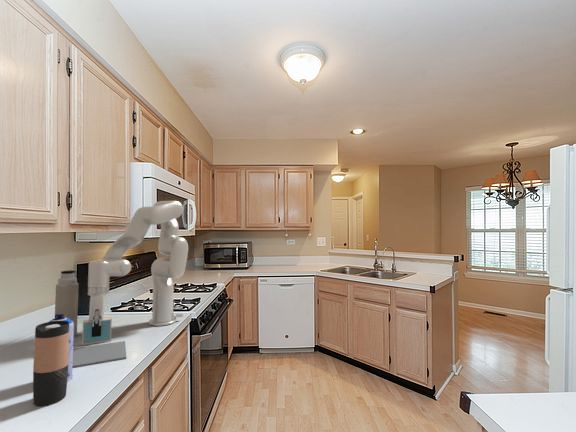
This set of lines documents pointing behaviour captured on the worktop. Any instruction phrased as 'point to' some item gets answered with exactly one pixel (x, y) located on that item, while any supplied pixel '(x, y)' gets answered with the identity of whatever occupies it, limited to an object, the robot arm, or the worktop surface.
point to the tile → (104, 336)
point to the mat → (98, 354)
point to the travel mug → (50, 362)
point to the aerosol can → (71, 333)
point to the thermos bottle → (67, 297)
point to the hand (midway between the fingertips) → (96, 332)
